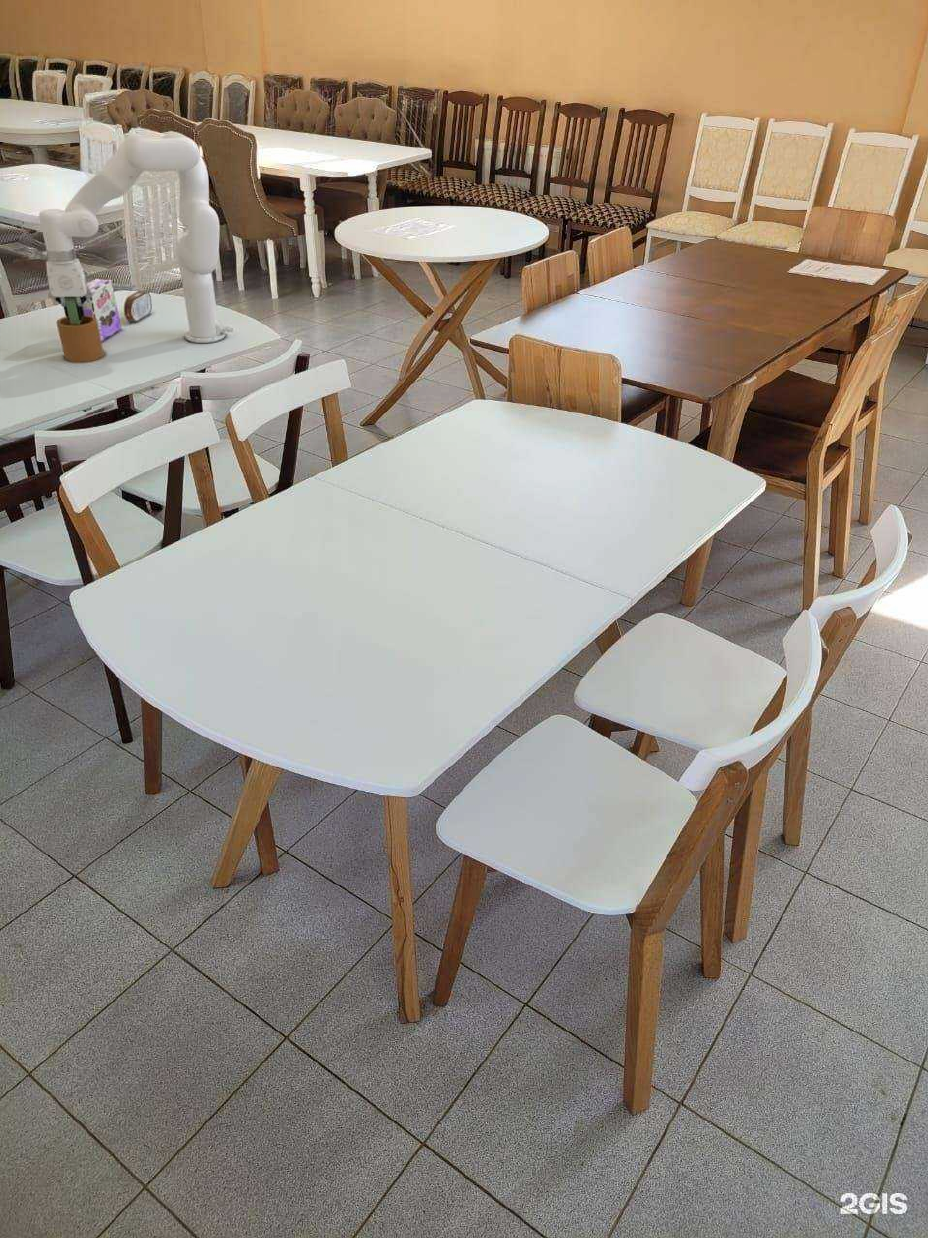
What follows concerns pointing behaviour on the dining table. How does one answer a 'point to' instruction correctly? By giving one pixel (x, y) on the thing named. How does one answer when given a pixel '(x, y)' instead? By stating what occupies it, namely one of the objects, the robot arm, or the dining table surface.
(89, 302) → the candy box
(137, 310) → the tin
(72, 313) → the block
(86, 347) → the jar
